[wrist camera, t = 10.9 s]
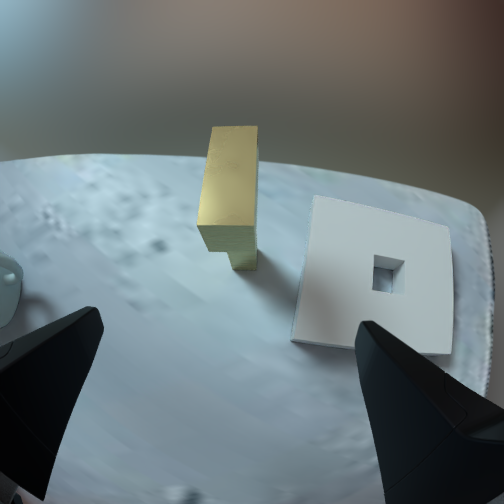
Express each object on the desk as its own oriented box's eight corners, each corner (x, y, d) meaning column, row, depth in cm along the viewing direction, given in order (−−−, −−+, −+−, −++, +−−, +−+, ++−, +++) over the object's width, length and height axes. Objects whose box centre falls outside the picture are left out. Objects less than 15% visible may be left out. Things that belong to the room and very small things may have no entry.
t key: (258, 293, 23) (253, 225, 11) (228, 292, 23) (196, 225, 12) (260, 227, 25) (257, 125, 14) (233, 226, 25) (212, 126, 14)
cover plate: (435, 355, 20) (451, 353, 17) (289, 340, 21) (293, 338, 19) (436, 237, 24) (448, 226, 22) (309, 209, 25) (314, 194, 23)
